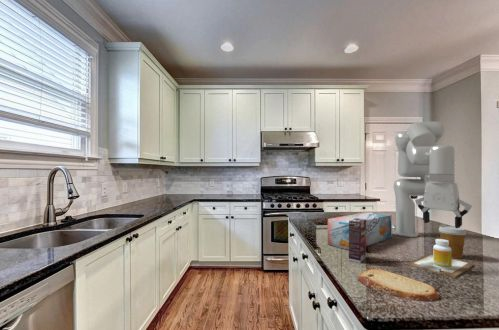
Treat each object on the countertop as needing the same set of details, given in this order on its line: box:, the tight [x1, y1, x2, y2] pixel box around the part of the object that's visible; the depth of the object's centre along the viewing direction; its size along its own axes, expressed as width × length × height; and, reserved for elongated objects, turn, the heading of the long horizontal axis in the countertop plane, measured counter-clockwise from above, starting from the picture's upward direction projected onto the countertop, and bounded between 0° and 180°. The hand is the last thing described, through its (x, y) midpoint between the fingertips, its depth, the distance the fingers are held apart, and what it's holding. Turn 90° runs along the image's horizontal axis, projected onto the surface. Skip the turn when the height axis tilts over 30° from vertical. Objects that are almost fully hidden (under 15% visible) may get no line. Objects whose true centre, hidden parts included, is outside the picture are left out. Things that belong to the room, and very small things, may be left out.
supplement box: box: [348, 218, 367, 264], centre depth 106 cm, size 9×5×16 cm, turn 142°
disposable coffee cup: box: [438, 225, 467, 260], centre depth 110 cm, size 10×10×12 cm
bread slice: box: [357, 267, 440, 302], centre depth 81 cm, size 18×18×4 cm
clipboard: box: [407, 253, 475, 279], centre depth 99 cm, size 15×20×2 cm
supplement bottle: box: [432, 238, 453, 269], centre depth 96 cm, size 5×5×10 cm
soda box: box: [327, 211, 393, 251], centre depth 133 cm, size 41×14×13 cm, turn 129°
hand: (441, 225), depth 96 cm, fingers open, 9 cm apart
